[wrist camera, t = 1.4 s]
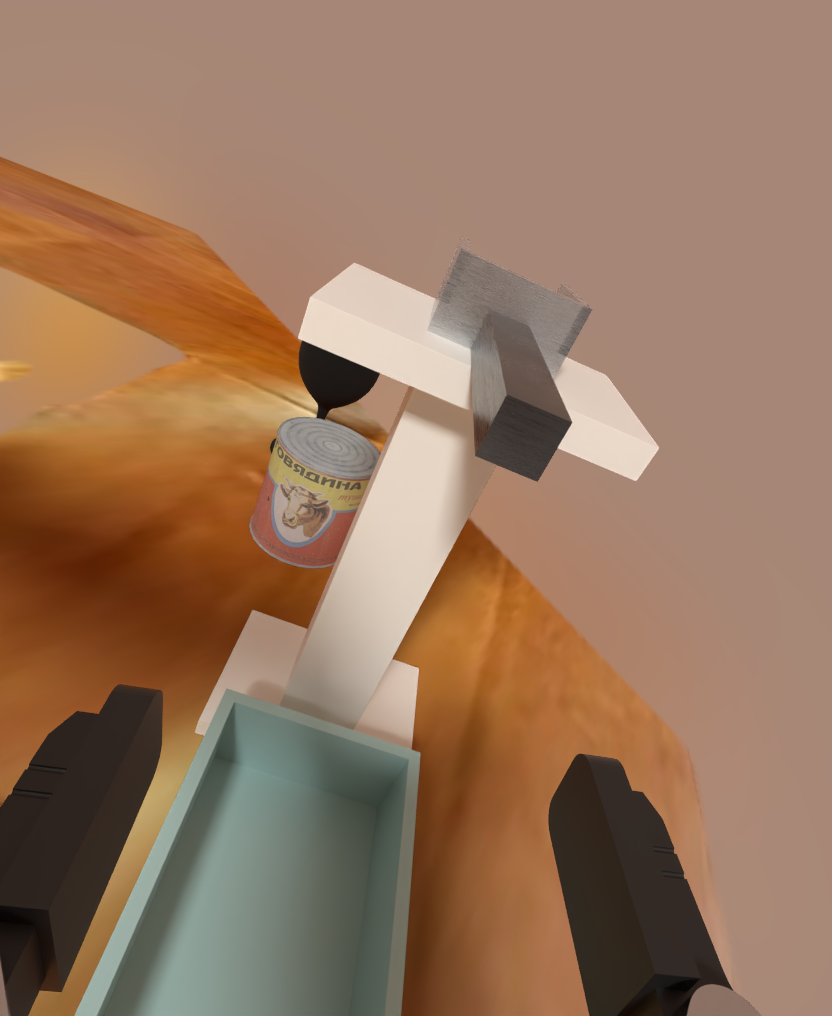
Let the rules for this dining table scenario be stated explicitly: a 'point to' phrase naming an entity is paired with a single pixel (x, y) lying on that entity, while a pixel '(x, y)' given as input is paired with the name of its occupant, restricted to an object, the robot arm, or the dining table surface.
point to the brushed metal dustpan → (510, 356)
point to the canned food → (312, 491)
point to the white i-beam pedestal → (401, 511)
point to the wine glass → (332, 379)
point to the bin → (271, 877)
